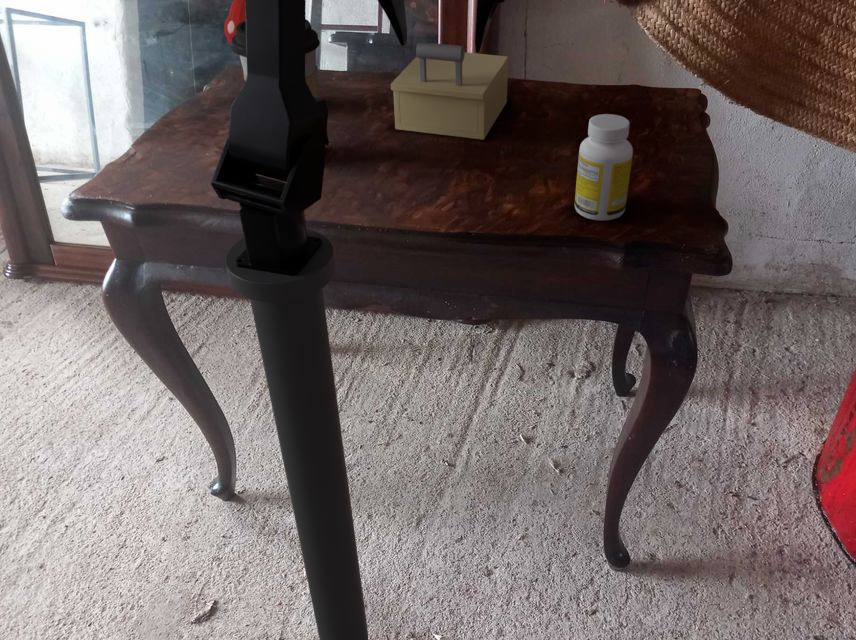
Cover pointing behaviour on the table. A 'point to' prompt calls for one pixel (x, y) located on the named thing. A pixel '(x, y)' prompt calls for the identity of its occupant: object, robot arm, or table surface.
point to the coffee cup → (310, 53)
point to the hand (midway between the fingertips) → (440, 48)
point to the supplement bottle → (604, 168)
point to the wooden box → (451, 111)
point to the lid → (450, 72)
